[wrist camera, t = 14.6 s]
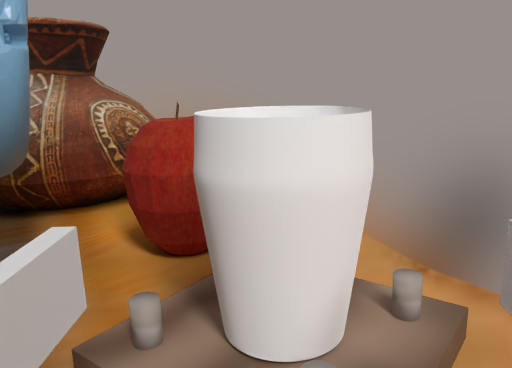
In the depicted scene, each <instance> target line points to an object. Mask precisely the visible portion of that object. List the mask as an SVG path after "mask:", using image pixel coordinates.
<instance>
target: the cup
mask: <svg viewBox="0 0 512 368" xmlns="http://www.w3.org/2000/svg"><path fill="white" fill-rule="evenodd" d="M193 174H194V181H195V186H196V192H197V197H198V202H199V207H200V212H201V217H202V222H203V227H204V232H205V237H206V242H207V247H208V252H209V257H210V262H211V266H212V271H213V276H214V281H215V286H216V291H217V296H218V301H219V306H220V311H221V316H222V321H223V326H224V331H225V335H226V337H227V339H228V340H229V342H230V343H231V344H232V345H233V346H234V347H236V348H237V349H238V350H240V351H242V352H244V353H246V354H248V355H250V356H253V357H256V358H259V359H263V360H268V361H275V362H296V361H303V360H308V359H312V358H315V357H318V356H321V355H323V354H325V353H327V352H329V351H330V350H332V349H333V348H335V347H336V346H337V345H338V344H339V342H340V341H341V340H342V338H343V335H344V330H345V325H346V320H347V314H348V309H349V303H350V298H351V292H352V287H353V282H354V276H355V271H356V265H357V260H358V254H359V249H360V243H361V238H362V233H363V227H364V221H365V216H366V211H367V205H368V199H369V194H370V188H371V182H372V176H373V153H372V116H371V109H369V108H361V107H348V106H266V107H242V108H226V109H214V110H205V111H199V112H195V113H194V166H193Z"/></svg>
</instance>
